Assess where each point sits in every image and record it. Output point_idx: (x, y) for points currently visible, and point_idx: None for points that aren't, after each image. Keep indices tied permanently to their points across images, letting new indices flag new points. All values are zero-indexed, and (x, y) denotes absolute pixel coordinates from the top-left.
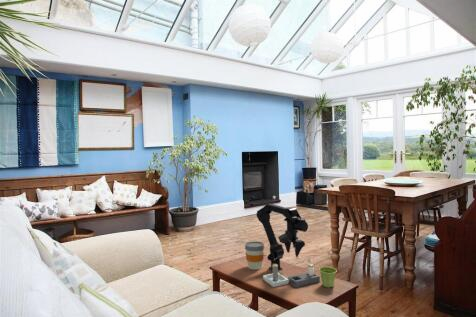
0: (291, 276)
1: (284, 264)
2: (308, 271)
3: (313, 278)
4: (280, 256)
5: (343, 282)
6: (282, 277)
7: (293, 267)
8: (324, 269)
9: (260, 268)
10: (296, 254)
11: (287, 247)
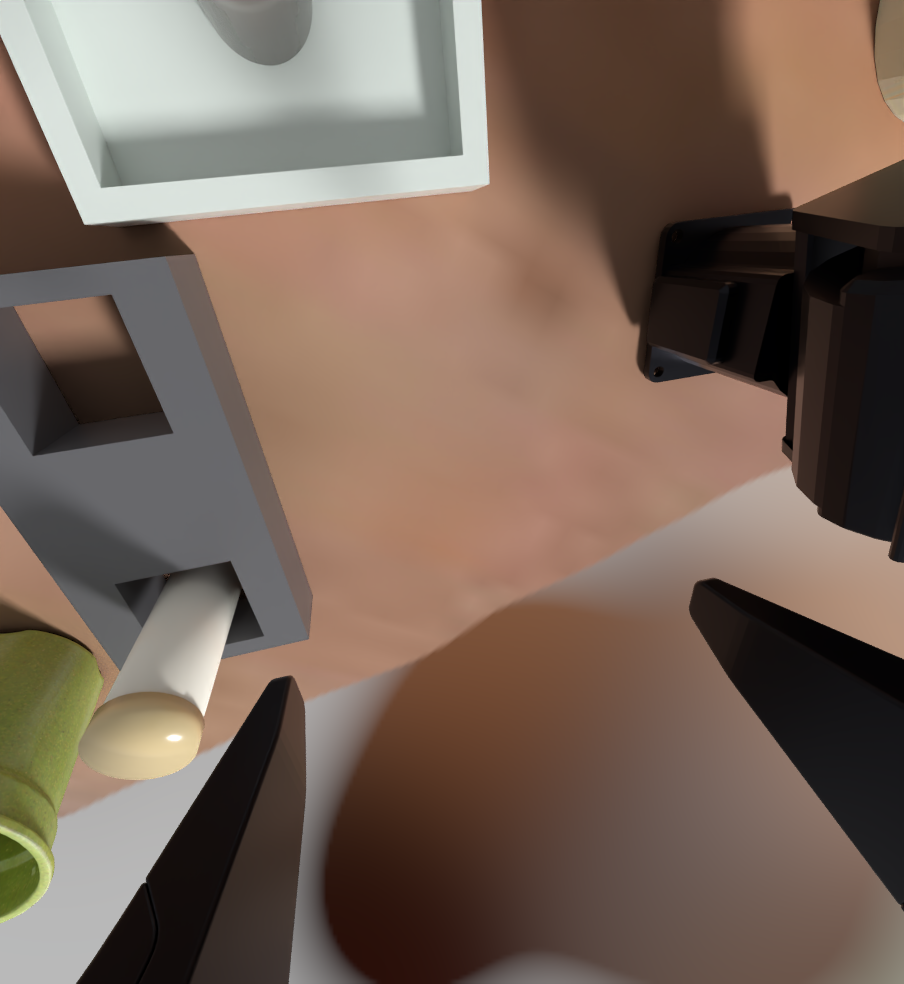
0: (173, 328)
1: (741, 463)
2: (172, 623)
3: (80, 604)
4: (797, 407)
5: (110, 782)
6: (268, 176)
7: (619, 519)
8: (46, 821)
9: (875, 45)
10: (220, 769)
11: (837, 703)
